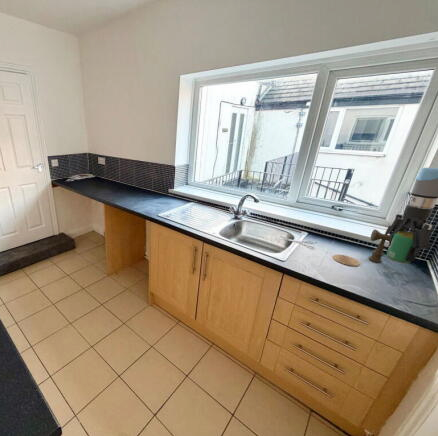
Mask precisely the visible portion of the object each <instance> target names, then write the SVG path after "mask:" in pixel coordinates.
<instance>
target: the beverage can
mask: <svg viewBox="0 0 438 436" xmlns="http://www.w3.org/2000/svg"><path fill="white" fill-rule="evenodd" d="M412 246H414V245H413V232H412V231H406V230H405V231H398V233H396V234H395V235H394V237H393V240H392V242H391V244H390V247H389V249H388V248H387V249H388V251H387V250H386V257H387V259H389V260H391V261H394V262H396V263H400V264H409V263H410V262H411V261H406V257H407V255H408V253H409V250H410V248H411V247H412Z"/></svg>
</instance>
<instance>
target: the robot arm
mask: <svg viewBox="0 0 438 436" xmlns="http://www.w3.org/2000/svg"><path fill="white" fill-rule="evenodd" d="M437 201H438V167H423V168H421V169H420V170H419V172H418V174H417V176H416V178H415V182H414V184H413V187H412V190H411V192H410V195H409V198H408V200H407V205H405V208H404V210H403V214H399V213H398V214H396V215H395V218H394V220H393V222H392V224H391V225H390V229H389V230H388V232H387V233H388V235H390V236H391V238H390V241H388V247H387V248H386V252H387V251H388V249H389V247H390V244H391V242H392V240H393V237H394V235H395V234H396V233H398V231H406V230H407V229H408V228H410V230H411V231H410V232H412V233H413V245H414V246H412V247H411V248H410V250H409V253H408V255H407V257H406V261H410V262H415V260H416V257H417V256H419V254H420V252H421V250H426V249H427V250H428V249H429V245H430V241H431V235H432V231H433V229H434V228H435V225H434V224H429V223H428V222H427V221H428V219H429V218H430V217H431V215H432V213H433V211H434V209H433V208H435V206H436V203H437Z"/></svg>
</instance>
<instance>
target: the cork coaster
mask: <svg viewBox="0 0 438 436" xmlns="http://www.w3.org/2000/svg"><path fill="white" fill-rule="evenodd" d="M332 259H333V260H334V261H336V262H338V263H339V264H342V265H345V266H350V267H357V266H359V265H360V261H359V260H357V259H356V258H354V257H352V256H349V255H345V254H333V255H332Z"/></svg>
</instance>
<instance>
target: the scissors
mask: <svg viewBox="0 0 438 436" xmlns="http://www.w3.org/2000/svg"><path fill="white" fill-rule="evenodd" d="M279 237H281V238H282V240H283V241H286V240H287V241H289V242H294V243H297V242H298V243H297V244H300V245H303V246H304V247H306V248H307V249H310V250H315V246H313V245H314V244H317V243H318V241H313V240H295V239H291V238H288V237H284V236H281V235H280V236H279ZM305 243H307V244H305ZM308 244H310V245H308Z"/></svg>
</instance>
